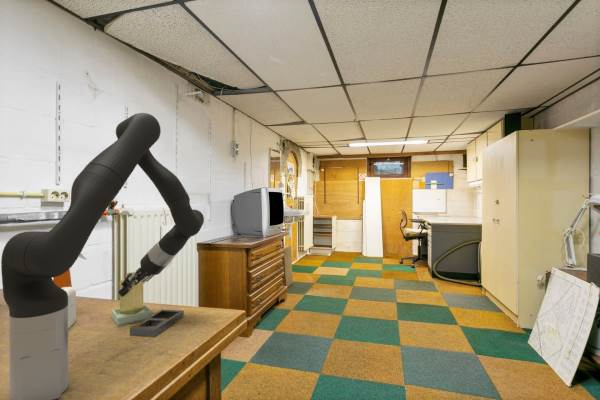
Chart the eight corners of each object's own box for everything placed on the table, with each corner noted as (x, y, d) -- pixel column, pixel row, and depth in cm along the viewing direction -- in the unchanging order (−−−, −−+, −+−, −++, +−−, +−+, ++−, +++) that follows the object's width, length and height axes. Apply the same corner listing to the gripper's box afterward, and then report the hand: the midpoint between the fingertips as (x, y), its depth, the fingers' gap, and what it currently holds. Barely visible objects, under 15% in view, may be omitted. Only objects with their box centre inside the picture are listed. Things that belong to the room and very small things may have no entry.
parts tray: (151, 318, 103) (151, 310, 103) (117, 326, 97) (117, 318, 97) (143, 310, 111) (143, 303, 111) (111, 317, 104) (111, 309, 104)
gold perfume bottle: (143, 309, 106) (143, 271, 106) (133, 315, 101) (133, 275, 101) (130, 308, 107) (130, 271, 107) (119, 314, 102) (119, 274, 102)
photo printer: (64, 333, 92) (64, 292, 92) (47, 335, 90) (47, 293, 90) (78, 320, 102) (77, 283, 102) (62, 322, 100) (62, 284, 100)
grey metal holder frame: (183, 316, 105) (183, 310, 105) (154, 337, 89) (154, 330, 89) (162, 315, 106) (162, 309, 106) (129, 335, 91) (129, 328, 91)
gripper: (164, 245, 110) (134, 278, 112) (136, 252, 96) (102, 290, 98) (178, 261, 109) (147, 293, 111) (152, 270, 95) (118, 307, 97)
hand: (126, 291), depth 104 cm, fingers closed on gold perfume bottle, 5 cm apart
